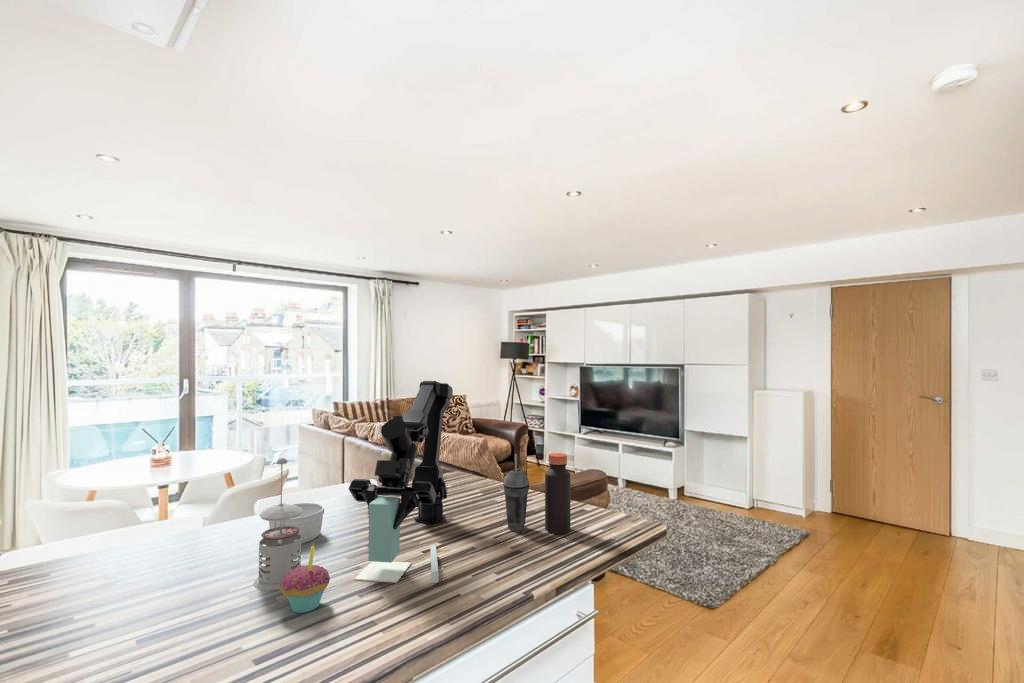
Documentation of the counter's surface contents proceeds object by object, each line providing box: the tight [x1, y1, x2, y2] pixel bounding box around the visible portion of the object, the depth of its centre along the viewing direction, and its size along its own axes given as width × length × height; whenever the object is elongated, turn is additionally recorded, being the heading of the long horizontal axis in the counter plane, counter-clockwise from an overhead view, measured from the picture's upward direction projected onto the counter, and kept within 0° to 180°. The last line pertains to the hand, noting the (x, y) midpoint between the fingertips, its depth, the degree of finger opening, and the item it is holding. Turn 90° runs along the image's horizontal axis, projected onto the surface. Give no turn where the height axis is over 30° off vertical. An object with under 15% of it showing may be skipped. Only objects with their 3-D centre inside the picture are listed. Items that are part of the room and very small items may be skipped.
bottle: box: [544, 452, 572, 535], centre depth 129 cm, size 7×7×20 cm
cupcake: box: [279, 542, 331, 614], centre depth 89 cm, size 9×8×12 cm
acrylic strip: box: [429, 545, 439, 584], centre depth 105 cm, size 14×1×2 cm, turn 11°
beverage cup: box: [502, 453, 531, 532], centre depth 130 cm, size 7×7×20 cm
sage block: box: [367, 496, 401, 563], centre depth 104 cm, size 5×5×12 cm
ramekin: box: [268, 502, 325, 546], centre depth 123 cm, size 13×13×7 cm
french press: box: [252, 457, 302, 592], centre depth 101 cm, size 10×12×25 cm
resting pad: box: [354, 561, 412, 584], centre depth 103 cm, size 9×9×1 cm
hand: (382, 528), depth 102 cm, fingers closed on sage block, 5 cm apart
